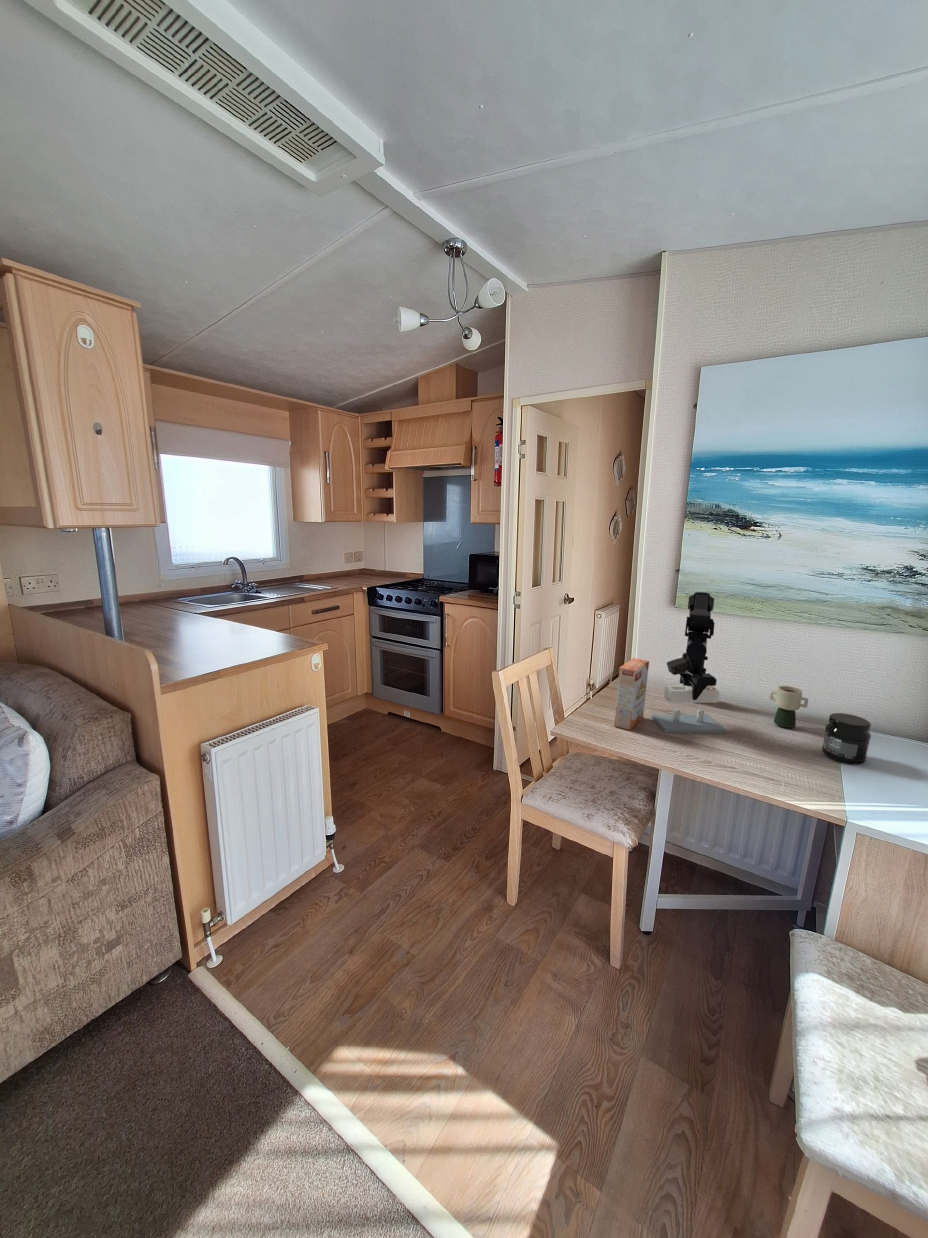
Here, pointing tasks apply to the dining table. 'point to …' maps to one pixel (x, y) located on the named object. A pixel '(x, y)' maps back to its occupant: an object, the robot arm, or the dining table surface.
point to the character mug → (787, 705)
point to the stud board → (688, 723)
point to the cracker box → (631, 693)
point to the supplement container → (846, 738)
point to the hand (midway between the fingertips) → (690, 696)
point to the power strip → (690, 694)
